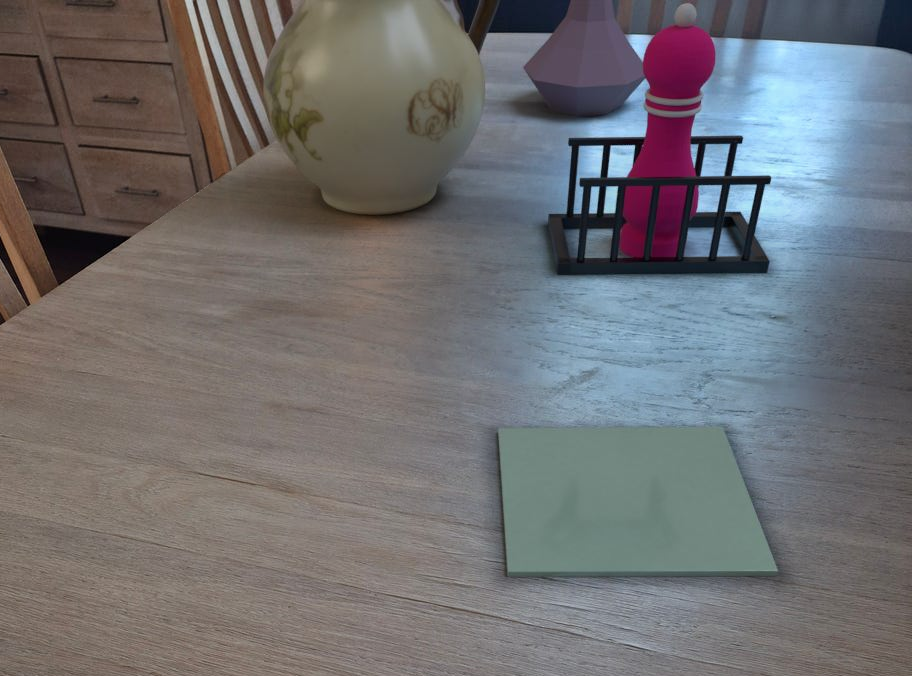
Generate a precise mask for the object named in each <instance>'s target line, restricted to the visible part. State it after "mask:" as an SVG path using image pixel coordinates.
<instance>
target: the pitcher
mask: <svg viewBox="0 0 912 676" xmlns="http://www.w3.org/2000/svg"><path fill="white" fill-rule="evenodd" d="M500 2H501V0H479V2H478V5H477V8H476V10H475V14H474V16H473V19H472V22H471V25H470V28H469V30H468V33H467V31H466V27H465V19H464V15H463V13H462V10H461V9H460V6H459V4H458V1H457V0H301V1H300V2H299V4H298V5H297V7H296V9H295V11H294V12H293V13H292V14H291V17H290V18H289V19H288V21H287V22H286V23H285V25H284V27H283V29H282V31H280V34H279V36H278V37H277V39H276V41H275V43H274V45H273V47H272V49H271V51H270V53H269V56H268V58H267V62H266V65H265V69H264V75H263V83H262V94H263V104H264V109H265V113H266V114H265V115H266V117H267V120H268V121H267V122H268V123H269V126H270V128H271V130H272V132H273V134H274V137H275V139H276V141H277V143H278V145H279V146H280V148H281V149H282V151H283V152H284V154H285V155H286V157H288V159H289V160H290V161H291V162H292V164H293V165H294V166H295V167H296V169H298V170H299V171H300V172H301V174H303V176H305V177H306V179H308V180H309V181H310V182H311V183H313V184H314V185H315V186H316V187H318V188H319V189H320V192H321V196H322V199H323V201H324V202H325V203H326V204H327V205H328V206H330V207H331V208H333V209H335V210H338V211H340V212H343V213H349V214H353V215H365V216H380V215H381V216H382V215H383V216H384V215H393V214H399V213H404V212H408V211H412V210H415V209H418V208H420V207H423V206H424V205H426V204H428V203H429V202H430V201H431V200H433V198H435V196H436V193H437V189H438V184H439V183H440V182H441V181H442V180H443V179H444V178H445V177H447V175H449V173H451V171H452V170H453V169H454V168H455V167H456V166H457V164H458V163H459V162H460V161H461V159H462V158H463V156H464V155H465V153H466V152H467V150H468V149H469V147H470V145H471V144H472V142H473V140H474V139H475V136H476V133H477V131H478V128H479V126H480V125H481V121H482V120H481V119H482V116H483V112H484V107H485V103H486V101H485V100H486V77H485V71H484V67H483V63H482V60H481V58H480V55H481V51H482V49H483V46H484V43H485V40H486V39H487V38H486V37H487V35H488V33H489V30H490V28H491V25H492V23H493V21H494V18H495V16H496V14H497V11H498V8H499V5H500Z"/></svg>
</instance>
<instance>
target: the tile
mask: <svg viewBox="0 0 912 676" xmlns="http://www.w3.org/2000/svg"><path fill="white" fill-rule="evenodd" d="M497 436H498V437H497V438H498V439H497V440H498V454H499V469H500V484H501V498H502V515H503V528H504V529H503V531H504V543H505V544H504V545H505V546H504V547H505V559H506V561H505V562H506V576H507V578H555V577H556V578H565V577H566V578H569V577H570V578H581V577H582V578H590V577H593V578H594V577H595V578H596V577H597V578H598V577H601V578H602V577H603V578H604V577H605V578H606V577H611V578H613V577H614V578H615V577H618V578H619V577H623V578H624V577H625V578H627V577H630V578H631V577H777V576H778V573H779V569H778V566H777V564H776V561H775V559H774V557H773V554H772V551H771V549H770V546H769V543H768V541H767V538H766V535H765V533H764V530H763V528H762V525H761V523H760V520H759V518H758V515H757V512H756V510H755V507H754V504H753V501H752V499H751V496H750V494H749V491H748V488H747V486H746V483H745V481H744V477H743V475H742V473H741V470H740V468H739V465H738V463H737V460H736V457H735V455H734V452H733V450H732V447H731V444H730V442H729V440H728V439H729V438H728V436H727V434H726V432H725V428H724V426H660V427H659V426H649V427H648V426H646V427H644V426H643V427H642V426H639V427H638V426H637V427H636V426H635V427H633V426H632V427H623V426H622V427H501V428H500V427H498V428H497Z"/></svg>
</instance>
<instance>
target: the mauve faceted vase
mask: <svg viewBox="0 0 912 676" xmlns="http://www.w3.org/2000/svg"><path fill="white" fill-rule="evenodd" d="M522 68H523V70H524V71H525V73H526V75H527V77H529V80H531V82H532V84H533V85H534V86H535V88H536V90H537V92H538V93H539V94H540V96H541V97H542V99H543V101H544V102H545V103H546V105H547V107H549V108H550V110H551V111H552V112H553V113H556V114H561V115H565V116H572V117H578V118H579V117H596V116H607V115H608V114H610V113H613V112H614V111H616V110H618V109H620V108H621V107H622V105H623V104H624V103H625V102H626V101H627V100H628V98H629V97H630V96H631V95H632V94H633V93H634V92H635V91H636V90H637V88H639V86H640V85H641V84H642V83H643V82H644V81H645V80H646V78H645V76H644V74H643V59H641V58H640V56H639V55H638V53H637V51H635V49H634V47H633V46H632V45H631V43H630V42H629V39H628V38H627V36H626V34H625V33H624V31H623V30H622V28H621V26H620V24H619V23H618V21H617V19H616V17H615V11H614V3H613V0H570V2H569V6H568V9H567V12H566V15H565V16H564V18H563V19H562V20H561V22H560V23H559V25H558V26H556V28H555V29H554V30H553V32H552V33H551V35H550V36H549V37H548V39H547V40H546V41H545V42H544V43H543V44H542V45H541V46H540V48H539V49H538V50H537V51H536V52H535V53H534V55H532V56H531V58H530V59H529V60H528V61H527V62H526V63H525V64H524V65H523V66H522Z"/></svg>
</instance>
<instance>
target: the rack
mask: <svg viewBox="0 0 912 676" xmlns="http://www.w3.org/2000/svg"><path fill="white" fill-rule="evenodd" d="M644 140H645V136H611V137H610V136H609V137H608V136H607V137H606V136H604V137H598V136H597V137H596V136H595V137H568V140H567V145H568V147H571V151H570V152H571V154H570V162H569V163H570V164H569V177H568V189H567V201H566V202H567V204H566V213H548V214H547V215H548V217H547V228H548V229H547V230H548V234H549V240H550V244H551V245H550V246H551V249H552V256H553V261H554V266H555V271H556V276H605V275H606V276H607V275H608V276H610V275H611V276H613V275H617V276H619V275H696V274H697V275H701V274H702V275H704V274H705V275H706V274H707V275H710V274H711V275H712V274H713V275H714V274H716V275H717V274H767V273H768V270H769V266H770V262H771V261H770V259H769V257H768V255H767V254H766V253H765V250H764V249H763V247H762V246H761V244H760V242H759V240H758V238H757V237H756V236H755V234H756V231H757V225H758V220H759V215H760V211H761V208H762V207H761V206H762V202H763V197H764V193H765V189H766V185H771V182H772V176H771V175H767V174H766V175H733V171H734V166H735V161H736V155H737V150H738V145H742V144H743V141H744V137H743V135H691V142H690V143H691V145H692V146H693V145H695V146H696V145H697V149H696V156H695V162H694V169H695V173H696V176H686V177H627V176H623V177H621V176H620V177H619V176H618V177H617V176H616V177H614V176H612V177H609V166H610V157H611V148H612V146H614V147H615V146H618V147H619V146H620V147H621V146H634V150H633V159H632V166H631V168H632V167H633V165H634V163H635V162H636V160H637V158H638V156H639V154H640V152H641V149H642V146H643V143H644ZM707 145H729V148H728V153H727V158H726V164H725V169H724V174H723V175H702V172H703V171H702V170H703V165H704V159H705V153H706V146H707ZM580 147H602V155H601V165H600V176H599V177H580V178H579V183H578V184H579V187H580V188H582V196H581V197H582V199H581V208H580V209H581V211H580V213H575V201H576V190H577V179H578V178H577V177H578V168H579V167H578V165H579V155H580V154H579V153H580ZM696 185H698V189H699V187H700V186H721V188H720V194H719V198H718V205H717V210H716V211H696V213H695V214H694V216H693V217H692V218H691V219H690V216H691V210H692V204H693V198H694V192H695V186H696ZM626 186H653V187H652V194H651V201H650V208H649V216H648V223H647V230H646V237H645V245H644V252H643V257H631V256H629V257H628V256H627V257H619V250H620V246H619V244H620V236H621V229H622V227H623V226H624V225H625V224H626V223H627V221H626V219H625V218H624V216H623V208H624V200H625V192H626ZM661 186H687V190H686V197H685V203H684V209H683V215H682V221H681V227H680V234H679V240H678V246H677V252H676V257H651V251H652V244H653V237H654V230H655V223H656V216H657V209H658V202H659V195H660V188H661ZM731 186H755V191H754V196H753V201H752V206H751V211H750V215H749V220H748V222H747V219H745V217H744V215H743V213H742V212H741V211H726V210H727V205H728V201H729V195H730V189H731ZM609 187H610V188H611V187H612V188H613V187H617V189H616V190H617V192H616V200H615V209H614V212H605V205H606V196H607V188H609ZM592 188H598V195H597V205H596V206H597V207H596V212H595V213H594V212H592V213H590V206H591V195H592ZM689 228H690V229H693V228H694V229H695V228H697V229H700V228H704V229H705V228H713V231H712V236H711V242H710V248H709V253H708V256H685V251H686V247H687V241H688V235H689ZM723 228H729V230H730V232H731V234H732V236H733V237H734V240H735V242H736V243H737V245H738V246H739V248H740V251H741V252H742V253H741V256H740V255H736V256H735V255H731V256H730V255H729V256H722V255H721V256H718V252H719V248H720V247H719V246H720V242H721V236H722V232H723ZM601 229H602V230H608V229H610V230H611V229H612V235H611V244H610V245H611V246H610V251H609V252H610V254H609V257H586V250H587V249H586V248H587V237H588V230H601ZM565 230H579V231H578V241H577V242H578V243H577V253H576V254H577V255H576V257H571V256H570V252H569V247H568V242H567V238H566V233H565ZM687 234H688V235H687ZM686 240H687V241H686ZM685 246H686V247H685Z"/></svg>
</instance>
